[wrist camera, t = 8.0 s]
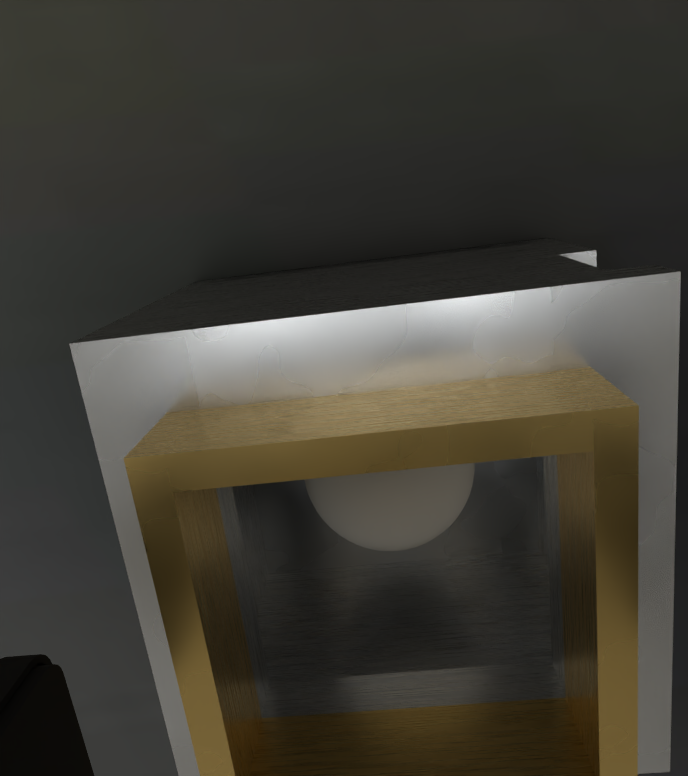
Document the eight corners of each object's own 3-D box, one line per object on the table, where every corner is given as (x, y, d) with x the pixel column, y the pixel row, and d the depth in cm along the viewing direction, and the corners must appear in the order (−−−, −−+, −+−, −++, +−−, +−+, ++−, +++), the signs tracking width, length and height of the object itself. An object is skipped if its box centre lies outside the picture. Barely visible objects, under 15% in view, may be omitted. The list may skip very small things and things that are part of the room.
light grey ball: (458, 352, 18) (480, 400, 14) (469, 495, 19) (492, 579, 15) (302, 369, 18) (277, 420, 14) (323, 507, 20) (305, 593, 15)
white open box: (548, 238, 18) (752, 289, 8) (559, 556, 21) (721, 873, 11) (195, 282, 19) (3, 375, 9) (252, 582, 21) (154, 899, 12)
